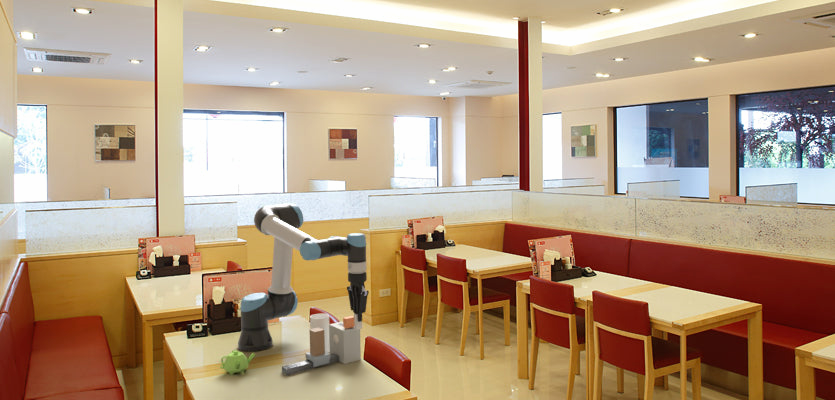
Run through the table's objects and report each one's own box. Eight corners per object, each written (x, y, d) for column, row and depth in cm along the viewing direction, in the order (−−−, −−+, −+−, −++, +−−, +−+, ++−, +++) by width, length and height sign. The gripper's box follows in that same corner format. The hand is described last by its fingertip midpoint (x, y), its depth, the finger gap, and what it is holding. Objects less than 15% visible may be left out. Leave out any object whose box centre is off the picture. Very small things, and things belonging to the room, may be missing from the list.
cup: (326, 355, 250) (325, 319, 248) (308, 354, 251) (307, 318, 250) (332, 349, 258) (331, 313, 256) (315, 348, 259) (314, 313, 258)
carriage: (305, 361, 239) (304, 329, 238) (320, 358, 243) (319, 325, 242) (314, 367, 232) (313, 333, 231) (330, 363, 237) (329, 330, 236)
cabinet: (328, 356, 248) (328, 324, 247) (345, 352, 253) (345, 320, 252) (343, 364, 238) (342, 330, 237) (360, 359, 244) (360, 326, 243)
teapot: (215, 374, 229) (214, 353, 228) (234, 364, 240) (234, 345, 239) (238, 378, 225) (237, 357, 224) (257, 368, 235) (256, 348, 235)
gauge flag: (343, 327, 241) (343, 317, 241) (352, 325, 244) (352, 315, 244) (346, 328, 239) (346, 319, 239) (355, 326, 242) (355, 317, 242)
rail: (282, 372, 230) (281, 366, 230) (334, 358, 245) (334, 353, 245) (286, 375, 227) (286, 369, 227) (339, 361, 242) (339, 355, 242)
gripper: (340, 270, 237) (342, 326, 239) (358, 275, 227) (359, 334, 229) (356, 268, 242) (357, 323, 243) (373, 272, 231) (375, 330, 233)
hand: (358, 328), depth 236 cm, fingers closed
